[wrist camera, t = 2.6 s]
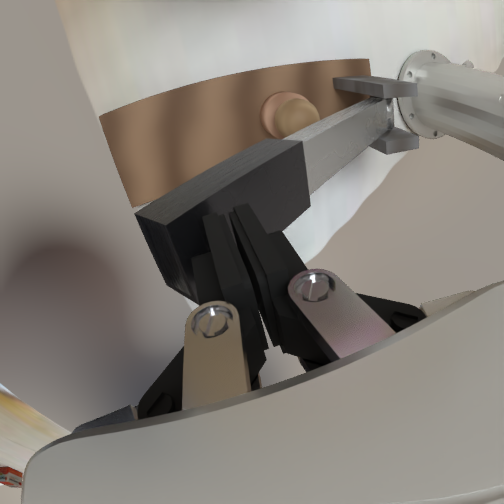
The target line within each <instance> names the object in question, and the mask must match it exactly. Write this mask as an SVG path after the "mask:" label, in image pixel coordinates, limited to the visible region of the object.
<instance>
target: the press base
mask: <svg viewBox="0 0 504 504" xmlns="http://www.w3.org/2000/svg"><path fill="white" fill-rule="evenodd" d="M370 96H375V97H379V98H384V99H385V98H398V97H415V96H418V89H417V83H412V82H406V81H401V80H395V79H388V78H381V77H374V76H371V71H370V63H369V59H342V60H327V61H315V62H306V63H297V64H289V65H282V66H275V67H268V68H262V69H257V70H251V71H246V72H241V73H236V74H231V75H227V76H222V77H218V78H214V79H209V80H205V81H201V82H198V83H194V84H190V85H187V86H183V87H180V88H176V89H173V90H170V91H166V92H163V93H160V94H157V95H154V96H151V97H148V98H145V99H142V100H139V101H136V102H134V103H131V104H128V105H126V106H123V107H120V108H118V109H115V110H113V111H110V112H108V113H105V114H103V115H101V116H99V119H100V122H101V125H102V128H103V131H104V134H105V137H106V140H107V142H108V145H109V148H110V151H111V154H112V156H113V159H114V162H115V165H116V167H117V170H118V172H119V175H120V178H121V180H122V183H123V186H124V188H125V191H126V193H127V196H128V198H129V201H130V203H131V206H132V208H133V207H136V206H139V205H141V204H144V203H147V202H150V201H153V200H156V199H158V198H160V197H161V196H163V195H165V194H166V193H168V192H170V191H171V190H173V189H175V188H176V187H178V186H180V185H181V184H183V183H185V182H187V181H188V180H190V179H192V178H193V177H195V176H197V175H199V174H200V173H202V172H204V171H206V170H208V169H209V168H211V167H213V166H215V165H217V164H218V163H220V162H222V161H224V160H226V159H228V158H229V157H231V156H233V155H235V154H237V153H239V152H241V151H243V150H245V149H247V148H249V147H250V146H252V145H254V144H256V143H258V142H260V141H262V140H264V139H284V138H286V137H287V136H289V135H291V134H293V133H295V132H297V131H299V130H301V129H303V128H305V127H307V126H309V125H311V124H314V123H316V122H318V121H320V120H322V119H324V118H326V117H328V116H330V115H332V114H335V113H337V112H339V111H341V110H343V109H345V108H348V107H350V106H352V105H354V104H357V103H359V102H361V101H363V100H366V99H368V98H370ZM369 146H370V147H372V148H374V149H376V150H378V151H380V152H382V153H384V154H386V155H388V154H392V153H397V152H402V151H408V150H413V149H417V148H419V136H417V135H415V134H412V133H409V132H407V131H404V130H402V129H399V128H396V127H394V128H393V129H389V130H387V131H386V132H385V133H383V134H382V135H381V136H380V137H379V138H377V139H376V140H375V141H374V142H373V143H372V144H370V145H369Z"/></svg>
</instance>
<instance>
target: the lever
mask: <svg viewBox="0 0 504 504" xmlns="http://www.w3.org/2000/svg"><path fill="white" fill-rule="evenodd" d="M393 128H394V109H393V98H385V99H384V98H379V97H375V96H370V98H368V99H366V100H363V101H361V102H359V103H357V104H354V105H352V106H350V107H348V108H345V109H343V110H341V111H339V112H337V113H335V114H332V115H330V116H328V117H326V118H324V119H322V120H320V121H318V122H316V123H314V124H311V125H309V126H307V127H305V128H303V129H301V130H299V131H297V132H295V133H293V134H291V135H289V136H287V137H286V138H284V139H264V140H262V141H260V142H258V143H256V144H254V145H252V146H250V147H249V148H247V149H245V150H243V151H241V152H239V153H237V154H235V155H233V156H231V157H229V158H228V159H226V160H224V161H222V162H220V163H218V164H217V165H215V166H213V167H211V168H209V169H208V170H206V171H204V172H202V173H200V174H199V175H197V176H195V177H193V178H192V179H190V180H188V181H187V182H185V183H183V184H181V185H180V186H178V187H176V188H175V189H173V190H171V191H170V192H168V193H166V194H165V195H163V196H161V197H160V198H158V199H157V200H155V201H153V202H152V203H150V204H149V205H147V206H145V207H144V208H142V209H141V210H139V211H138V212H136V213H135V216H136V219H137V221H138V223H139V226H140V228H141V230H142V233H143V235H144V237H145V239H146V242H147V244H148V246H149V248H150V251H151V253H152V255H153V257H154V259H155V261H156V264H157V266H158V268H159V270H160V272H161V274H162V276H163V278H164V280H165V283H166V285H167V286H169V287H170V288H172V289H174V290H175V291H177V292H178V293H180V294H182V295H183V296H185V297H187V298H188V299H190V300H192V301H193V302H195V303H197V304H198V305H199V301H198V296H197V290H196V284H195V278H194V273H193V266H192V260H191V258H193V257H196V256H199V255H202V254H205V253H208V252H211V249H210V246H209V242H208V238H207V234H206V230H205V226H204V222H203V219H202V216H206V215H209V214H212V213H215V212H217V214H218V216H219V215H222V214H224V216H225V218H226V221H227V223H228V226H229V228H230V231H231V233H232V236H233V238H234V240H235V236H234V232H233V229H232V225H231V221H230V218H229V212H232V211H233V207H235V206H238V205H242V204H245V203H249V205H250V207H251V208H252V210H253V211H254V213H255V215H256V216H257V218H258V220H259V221H260V223H261V225H262V226H263V228H264V230H265V231H266V233H267V234H269V233H272V232H275V231H279V230H281V231H283V230H284V229H285V228H287V227H288V226H289V225H290V224H291V223H292V222H293V221H294V220H296V219H297V218H298V217H299V216H300V215H301V214H302V213H303V212H304V211H306V210H307V209H308V208H309V207H310V206H311V205H310V195H311V194H312V193H313V192H314V191H315V190H317V189H318V188H319V187H320V186H321V185H323V184H324V183H325V182H326V181H327V180H329V179H330V178H331V177H332V176H333V175H335V174H336V173H337V172H338V171H339V170H340V169H342V168H343V167H344V166H345V165H346V164H348V163H349V162H350V161H351V160H352V159H354V158H355V157H356V156H357V155H358V154H360V153H361V152H362V151H363V150H364V149H366V148H367V147H368V146H369V145H370V144H372V143H373V142H374V141H375V140H376V139H377V138H379V137H380V136H381V135H382V134H383V133H385V132H386V131H387V130H389V129H393ZM235 243H236V240H235ZM236 245H237V244H236ZM237 248H238V247H237Z"/></svg>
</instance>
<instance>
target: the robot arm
mask: <svg viewBox="0 0 504 504" xmlns="http://www.w3.org/2000/svg"><path fill="white" fill-rule="evenodd" d="M473 68H474V65H473V64H472V62H471V61H466V62H465V63H463V65H459V64H453V63H451V62H450V61H449V60H448V59H447V58H446V57H445V56H444V55H442V54H440V53H438V52H436V51H431V50H421V51H418V52H416V53H414V54H413V55H411V56H410V57H409V58H408V59H407V61H406V62H405V63H404V65H403V67H402V69H401V73H400V76H399V80H401V81H406V82H412V83H417V89H418V96H415V97H398V102H399V106H400V110H401V113H402V116H403V118H404V120H405V122H406V123H407V125H408V126H409V127H410V128H411V130H412V131H413V132H415V133H416V134H418V135H420V136H422V137H425V138H429V139H437V138H439V137H442V136H443V135H445V134H447V135H449V136H452V137H454V138H456V139H459V140H461V141H464V142H466V143H468V144H470V145H473V146H475V147H477V148H479V149H481V150H483V151H485V152H487V153H489V154H491V155H494V156H495V157H498V158H499V159H501V160H503V161H504V76H502V75H499V74H495V73H491V72H487V71H482V70H478V69H473ZM229 218H230V221H231V225H232V229H233V232H234V236H235V240H236V243H235V240H234V238H233V236H232V233H231V231H230V228H229V226H228V223H227V221H226V218H225V216H224V214H222V215H219V216H218V214H217V212H215V213H212V214H209V215H206V216H202V219H203V222H204V226H205V230H206V234H207V238H208V242H209V246H210V249H211V252H208V253H205V254H202V255H199V256H196V257H193V258H191V260H192V266H193V273H194V278H195V284H196V290H197V296H198V301H199V307H197V308H196V309H195V310H194V311H193V312H191V314H190V315H189V317H188V318H187V321H186V325H185V341H184V347H183V348H182V349H181V350H180V351H179V353H178V354H177V355H176V356H175V358H174V359H173V360H172V361H171V363H170V364H169V365H168V366H167V367H166V369H165V370H164V371H163V372H162V374H161V375H160V376H159V377H158V378H157V380H156V381H155V382H154V383H153V385H152V386H151V387H150V388H149V389H148V391H147V392H146V393H145V394H144V396H143V397H142V399H141V400H140V402H139V405H137V406H135V407H133V406H132V405H128V406H125V407H123V408H121V409H118V410H116V411H114V412H111V413H109V414H107V415H104V416H101V417H99V418H96V419H94V420H92V421H89V422H86V423H84V424H81V425H80V426H78V427H76V428H75V429H74V431H73V432H72V433H71V434H70V435H67V436H64V437H62V438H59V439H57V440H55V441H53V442H51V443H49V444H48V445H46V446H44V447H43V448H41V449H40V450H39V451H37V452H36V453H35V454H34V455H33V456H32V457H31V458H30V460H29V461H28V463H27V465H26V468H25V471H24V476H23V482H22V493H21V504H504V281H501V282H497V283H494V284H491V285H489V286H486V287H484V288H481V289H479V290H477V291H466V292H462V293H459V294H455V295H451V296H448V297H445V298H440V299H437V300H433V301H429V302H426V303H421V305H420V308H417V307H415V306H413V305H410V304H405V303H400V302H396V301H391V300H386V299H382V298H376V297H372V296H367V295H363V294H358V293H354V291H352V290H351V289H350V288H349V287H348V286H347V285H346V284H345V283H344V282H343V281H342V280H341V279H340V278H339V277H338V276H337V275H335V274H334V273H332V272H330V271H327V270H324V269H310V270H308V269H307V268H306V266H305V265H304V263H303V262H302V260H301V259H300V257H299V256H298V254H297V253H296V251H295V250H294V248H293V247H292V245H291V244H290V242H289V241H288V239H287V238H286V237H285V235H284V234H283V232H282V231H281V230H279V231H275V232H272V233H269V234H267V233H266V231H265V230H264V228H263V226H262V225H261V223H260V221H259V220H258V218H257V216H256V215H255V213H254V211H253V210H252V208H251V207H250V205H249V203H245V204H242V205H238V206H235V207H233V211H232V212H229ZM236 244H237V245H236ZM237 247H238V248H237ZM259 312H260V313H259ZM260 314H261V316H262V319H263V322H264V324H265V327H266V329H267V332H268V334H269V337H270V339H271V341H272V344H273V346H274V347H275V346H278V345H280V347H281V349H282V352H283V353H288V354H291V355H294V356H297V357H298V359H299V361H300V363H301V365H302V366H303V368H304V369H305V371H306V373H304V374H301V375H298V376H296V377H293V378H290V379H287V380H284V381H282V382H279V383H276V384H273V385H270V386H267V387H264V388H262V384H261V378H260V375H259V371H260V369H261V368H262V366H263V365H264V363H265V361H266V357H265V353H264V350H266V349H269V347H268V343H267V339H266V336H265V332H264V328H263V325H262V321H261V317H260Z"/></svg>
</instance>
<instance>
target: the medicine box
mask: <svg viewBox="0 0 504 504" xmlns="http://www.w3.org/2000/svg"><path fill="white" fill-rule="evenodd" d="M0 483H2V484H4V485H7V486H9V487H16V488H17V487H18V488H22V473H21V472H19V471H16V470H14V469H12V468H10V467H0Z"/></svg>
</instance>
